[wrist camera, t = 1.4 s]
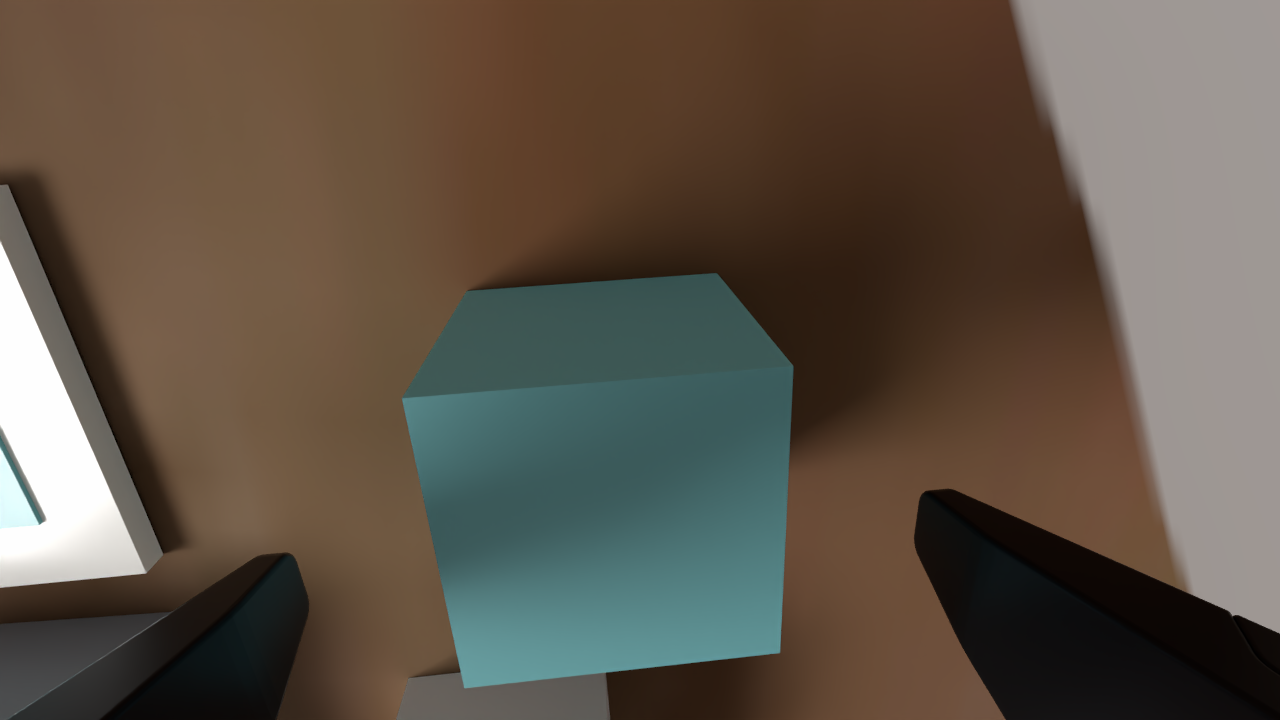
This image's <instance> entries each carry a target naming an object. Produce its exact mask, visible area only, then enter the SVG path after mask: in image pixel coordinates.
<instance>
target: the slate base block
mask: <svg viewBox="0 0 1280 720" xmlns="http://www.w3.org/2000/svg"><path fill="white" fill-rule="evenodd" d="M169 613H171V612H163V613H149V614H135V615H121V616H107V617H92V618H78V619H64V620H50V621H36V622H22V623H8V624H0V720H6V719H8V718H9V717H11V716H12V715H14V714H15V713H17V712H19V711H20V710H22V709H23V708H25V707H26V706H28V705H29V704H31V703H32V702H34V701H35V700H37V699H39V698H40V697H42V696H43V695H45V694H46V693H48V692H49V691H51V690H52V689H54V688H55V687H57V686H58V685H60V684H62V683H63V682H65V681H66V680H68V679H69V678H71V677H72V676H74V675H75V674H77V673H78V672H80V671H82V670H83V669H85V668H86V667H88V666H89V665H91V664H92V663H94V662H95V661H97V660H98V659H100V658H101V657H103V656H105V655H106V654H108V653H109V652H111V651H112V650H114V649H115V648H117V647H118V646H120V645H121V644H123V643H125V642H126V641H128V640H129V639H131V638H132V637H134V636H135V635H137V634H138V633H140V632H141V631H143V630H145V629H146V628H148V627H149V626H151V625H152V624H154V623H155V622H157V621H158V620H160V619H161V618H163V617H164V616H166V615H168V614H169Z"/></svg>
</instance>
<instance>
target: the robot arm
mask: <svg viewBox="0 0 1280 720" xmlns="http://www.w3.org/2000/svg"><path fill="white" fill-rule="evenodd" d="M914 543H915V548H916V551H917V554H918V556H919V558H920V561H921V563H922V565H923V567H924V569H925V571H926V573H927V575H928V577H929V579H930V582H931V584H932V586H933V588H934V590H935V592H936V594H937V596H938V598H939V600H940V603H941V605H942V607H943V609H944V611H945V613H946V615H947V617H948V619H949V621H950V624H951V626H952V628H953V630H954V632H955V634H956V636H957V638H958V640H959V642H960V644H961V646H962V648H963V649H964V651H965V653H966V654H967V656H968V658H969V660H970V661H971V663H972V665H973V666H974V668H975V670H976V671H977V673H978V675H979V676H980V678H981V680H982V681H983V683H984V684H985V686H986V688H987V689H988V691H989V693H990V694H991V696H992V698H993V699H994V701H995V703H996V704H997V706H998V708H999V709H1000V711H1001V712H1002V714H1003V716H1004V717H1005V719H1006V720H1280V634H1279V633H1277V632H1275V631H1272V630H1270V629H1268V628H1266V627H1264V626H1261V625H1259V624H1257V623H1254V622H1252V621H1250V620H1248V619H1246V618H1243V617H1241V616H1239V615H1235V616H1232V615H1231V613H1230V612H1229V611H1227V610H1225V609H1223V608H1220V607H1218V606H1215V605H1214V604H1211V603H1209V602H1207V601H1205V600H1202V599H1200V598H1198V597H1196V596H1193V595H1191V594H1189V593H1186V592H1184V591H1182V590H1180V589H1177V588H1175V587H1173V586H1171V585H1168V584H1166V583H1164V582H1162V581H1159V580H1157V579H1155V578H1152V577H1150V576H1148V575H1146V574H1143V573H1141V572H1139V571H1137V570H1134V569H1132V568H1130V567H1128V566H1125V565H1123V564H1121V563H1119V562H1116V561H1114V560H1112V559H1109V558H1107V557H1105V556H1103V555H1100V554H1098V553H1096V552H1094V551H1091V550H1089V549H1087V548H1085V547H1082V546H1080V545H1078V544H1076V543H1073V542H1071V541H1069V540H1066V539H1064V538H1062V537H1060V536H1057V535H1055V534H1053V533H1051V532H1048V531H1046V530H1044V529H1042V528H1039V527H1037V526H1035V525H1033V524H1030V523H1028V522H1026V521H1023V520H1021V519H1019V518H1017V517H1014V516H1012V515H1010V514H1008V513H1005V512H1003V511H1001V510H999V509H996V508H994V507H992V506H990V505H987V504H985V503H983V502H981V501H978V500H976V499H974V498H971V497H969V496H967V495H965V494H962V493H960V492H958V491H956V490H953V489H939V490H929V491H925V492H924V493H923V494H922V495H921V497H920V500H919V505H918V512H917V520H916V527H915V534H914ZM308 612H309V600H308V595H307V592H306V589H305V586H304V583H303V580H302V577H301V574H300V571H299V568H298V564H297V562H296V559H295V558H294V556H293V555H291V554H289V553H275V554H265V555H260V556H257V557H255V558H254V559H252V560H251V561H249V562H247V563H246V564H244V565H243V566H241V567H240V568H238V569H237V570H235V571H234V572H232V573H231V574H229V575H227V576H226V577H224V578H223V579H221V580H220V581H218V582H217V583H215V584H214V585H212V586H211V587H209V588H207V589H206V590H204V591H203V592H201V593H200V594H198V595H197V596H195V597H194V598H192V599H191V600H189V601H188V602H186V603H184V604H183V605H181V606H180V607H178V608H177V609H175V610H174V611H172V612H171V613H169V614H168V615H166V616H164V617H163V618H161V619H160V620H158V621H157V622H155V623H154V624H152V625H151V626H149V627H148V628H146V629H145V630H143V631H141V632H140V633H138V634H137V635H135V636H134V637H132V638H131V639H129V640H128V641H126V642H125V643H123V644H121V645H120V646H118V647H117V648H115V649H114V650H112V651H111V652H109V653H108V654H106V655H105V656H103V657H101V658H100V659H98V660H97V661H95V662H94V663H92V664H91V665H89V666H88V667H86V668H85V669H83V670H82V671H80V672H78V673H77V674H75V675H74V676H72V677H71V678H69V679H68V680H66V681H65V682H63V683H62V684H60V685H58V686H57V687H55V688H54V689H52V690H51V691H49V692H48V693H46V694H45V695H43V696H42V697H40V698H39V699H37V700H35V701H34V702H32V703H31V704H29V705H28V706H26V707H25V708H23V709H22V710H20V711H19V712H17V713H15V714H14V715H12V716H11V717H9V718H8V719H6V720H276V719H277V716H278V713H279V710H280V707H281V704H282V700H283V697H284V694H285V690H286V687H287V684H288V680H289V677H290V674H291V670H292V667H293V664H294V660H295V657H296V654H297V650H298V647H299V644H300V641H301V637H302V634H303V631H304V627H305V624H306V621H307V617H308Z"/></svg>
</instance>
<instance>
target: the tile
mask: <svg viewBox="0 0 1280 720" xmlns="http://www.w3.org/2000/svg"><path fill="white" fill-rule="evenodd" d="M162 556H163V552H162V550H161V548H160V545H159V543H158V541H157V538H156V536H155V533H154V531H153V529H152V526H151V524H150V522H149V519H148V517H147V514H146V512H145V510H144V507H143V505H142V503H141V500H140V498H139V495H138V493H137V491H136V488H135V486H134V484H133V481H132V479H131V476H130V474H129V472H128V469H127V467H126V465H125V462H124V460H123V457H122V455H121V453H120V450H119V448H118V446H117V443H116V441H115V438H114V436H113V434H112V431H111V429H110V427H109V424H108V422H107V419H106V417H105V415H104V412H103V410H102V407H101V405H100V403H99V400H98V398H97V396H96V393H95V391H94V388H93V386H92V384H91V381H90V379H89V377H88V374H87V372H86V369H85V367H84V365H83V362H82V360H81V358H80V355H79V353H78V350H77V348H76V346H75V343H74V341H73V339H72V336H71V334H70V331H69V329H68V327H67V324H66V322H65V320H64V317H63V315H62V312H61V310H60V308H59V305H58V303H57V301H56V298H55V296H54V293H53V291H52V289H51V286H50V284H49V282H48V279H47V277H46V274H45V272H44V270H43V267H42V265H41V263H40V260H39V258H38V255H37V253H36V251H35V248H34V246H33V243H32V241H31V239H30V236H29V234H28V232H27V229H26V227H25V224H24V222H23V220H22V217H21V215H20V213H19V210H18V208H17V205H16V203H15V201H14V198H13V196H12V194H11V191H10V189H9V186H8V185H0V588H1V587H11V586H22V585H32V584H42V583H53V582H63V581H73V580H84V579H94V578H104V577H115V576H125V575H135V574H146V573H147V572H148V571H149V570H150V569H151V568H152V567H153V566H154V565H155V563H156V562H157V561H158V560H159V559H160V558H161V557H162Z"/></svg>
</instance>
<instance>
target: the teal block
mask: <svg viewBox="0 0 1280 720" xmlns="http://www.w3.org/2000/svg"><path fill="white" fill-rule="evenodd" d="M792 387H793V365H792V364H791V363H790V361H789V360H788V359H787V358H786V356H785V355H784V354H783V353H782V352H781V350H780V349H779V348H778V347H777V346H776V344H775V343H774V342H773V341H772V339H771V338H770V337H769V336H768V335H767V333H766V332H765V331H764V330H763V329H762V327H761V326H760V325H759V324H758V322H757V321H756V320H755V319H754V318H753V316H752V315H751V314H750V313H749V311H748V310H747V309H746V308H745V307H744V305H743V304H742V303H741V302H740V301H739V299H738V298H737V297H736V296H735V294H734V293H733V292H732V291H731V290H730V288H729V287H728V286H727V285H726V283H725V282H724V281H723V280H722V279H721V277H720V276H719V275H718V274H717V273H710V274H696V275H682V276H668V277H654V278H640V279H627V280H613V281H599V282H585V283H571V284H557V285H543V286H529V287H515V288H501V289H487V290H473V291H467V292H466V293H465V295H464V296H463V298H462V300H461V301H460V303H459V305H458V306H457V308H456V310H455V311H454V313H453V315H452V316H451V318H450V320H449V321H448V323H447V325H446V326H445V328H444V330H443V331H442V333H441V335H440V336H439V338H438V340H437V341H436V343H435V345H434V346H433V348H432V350H431V351H430V353H429V355H428V356H427V358H426V359H425V361H424V363H423V364H422V366H421V368H420V369H419V371H418V373H417V374H416V376H415V378H414V379H413V381H412V383H411V384H410V386H409V388H408V389H407V391H406V393H405V394H404V396H403V398H402V401H403V405H404V410H405V415H406V419H407V424H408V429H409V433H410V438H411V443H412V447H413V452H414V456H415V461H416V466H417V470H418V475H419V480H420V484H421V489H422V494H423V498H424V503H425V508H426V512H427V517H428V522H429V526H430V531H431V536H432V540H433V545H434V550H435V554H436V559H437V563H438V568H439V573H440V577H441V582H442V587H443V591H444V596H445V601H446V605H447V610H448V615H449V619H450V624H451V629H452V633H453V638H454V643H455V647H456V652H457V657H458V661H459V666H460V670H461V675H462V680H463V684H464V688H472V687H481V686H490V685H499V684H508V683H517V682H526V681H535V680H544V679H552V678H561V677H570V676H579V675H588V674H597V673H606V672H615V671H624V670H633V669H642V668H651V667H660V666H668V665H677V664H686V663H695V662H704V661H713V660H722V659H731V658H740V657H749V656H758V655H767V654H776V653H780V643H781V622H782V600H783V579H784V558H785V536H786V515H787V494H788V473H789V451H790V430H791V409H792Z"/></svg>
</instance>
